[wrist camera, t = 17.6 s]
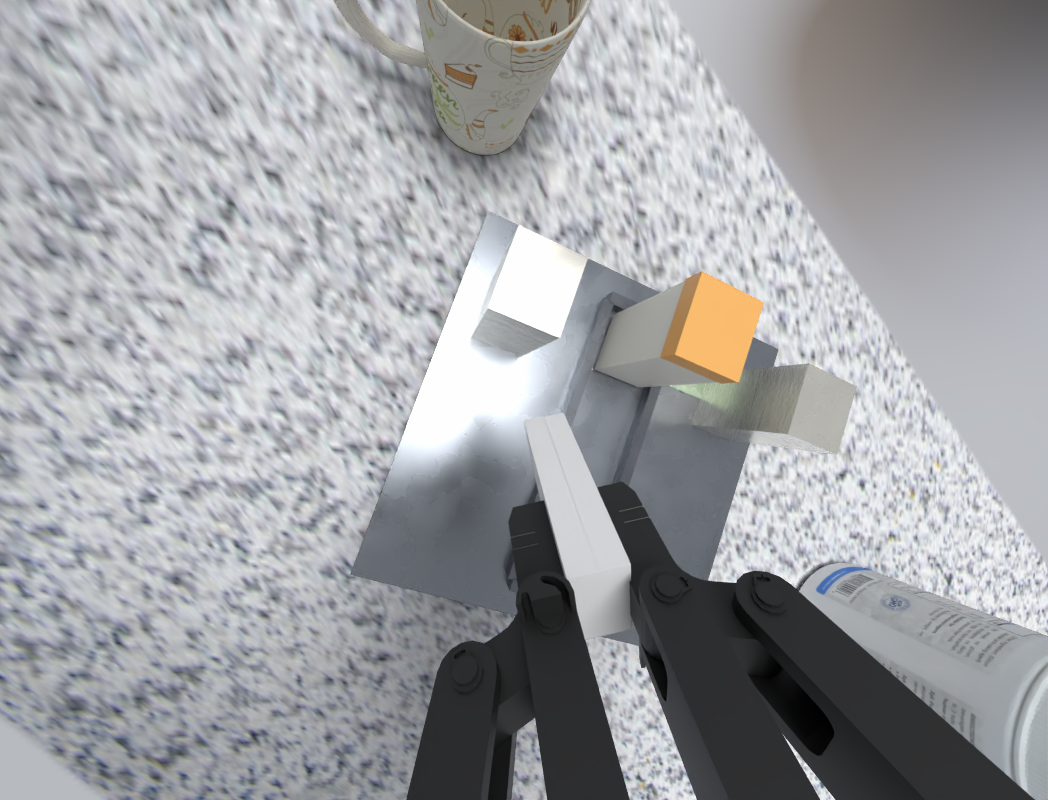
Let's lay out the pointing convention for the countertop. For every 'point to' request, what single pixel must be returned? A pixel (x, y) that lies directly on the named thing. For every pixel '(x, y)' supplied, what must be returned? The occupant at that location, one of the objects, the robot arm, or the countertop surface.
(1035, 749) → the supplement tub
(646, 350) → the handle
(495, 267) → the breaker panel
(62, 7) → the countertop surface
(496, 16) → the mug
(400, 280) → the countertop surface
